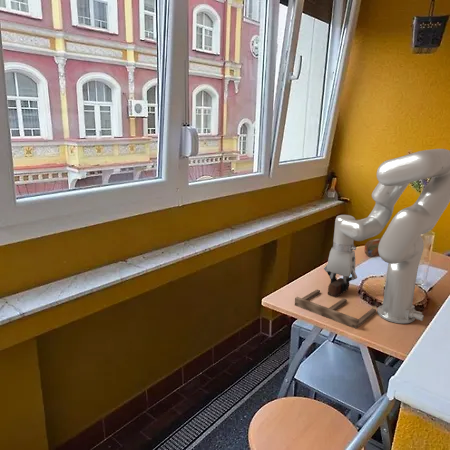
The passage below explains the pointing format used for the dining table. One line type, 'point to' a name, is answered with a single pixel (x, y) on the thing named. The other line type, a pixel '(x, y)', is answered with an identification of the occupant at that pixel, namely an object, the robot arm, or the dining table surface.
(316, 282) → the dining table surface
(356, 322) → the lane rack
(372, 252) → the tin
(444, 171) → the robot arm
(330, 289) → the brick
